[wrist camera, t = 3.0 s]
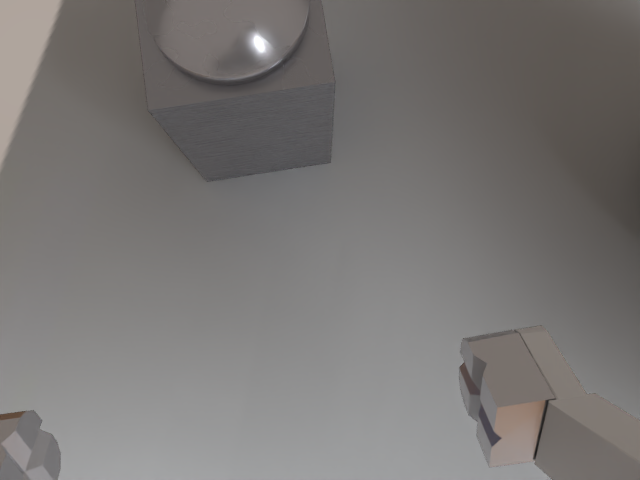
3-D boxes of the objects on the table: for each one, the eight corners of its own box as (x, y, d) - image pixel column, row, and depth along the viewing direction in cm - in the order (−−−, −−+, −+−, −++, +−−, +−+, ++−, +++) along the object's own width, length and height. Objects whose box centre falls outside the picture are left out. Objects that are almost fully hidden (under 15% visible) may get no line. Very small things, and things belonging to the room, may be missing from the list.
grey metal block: (311, 47, 27) (305, -100, 18) (330, 162, 26) (335, 73, 17) (191, 65, 27) (121, -74, 18) (207, 181, 26) (141, 102, 17)
